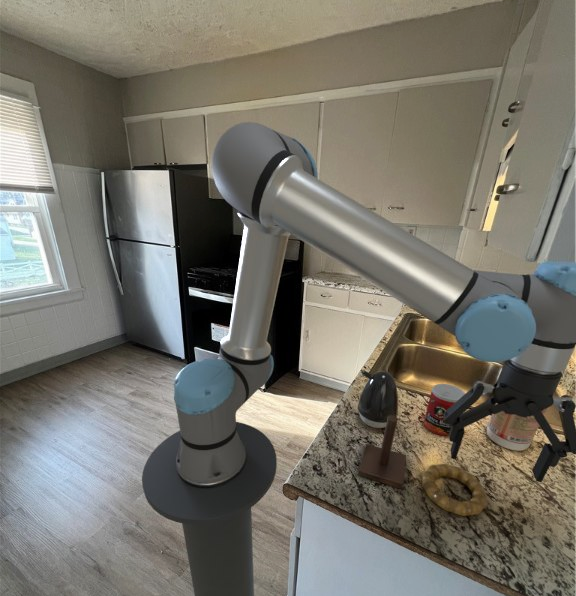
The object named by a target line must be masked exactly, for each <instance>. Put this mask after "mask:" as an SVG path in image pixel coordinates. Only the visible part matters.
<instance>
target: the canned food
mask: <svg viewBox="0 0 576 596" xmlns="http://www.w3.org/2000/svg"><path fill="white" fill-rule="evenodd" d="M464 394H466V392H465V391H464V390H463V389H461V388H460V387H458V386H456V385H452V384H449V383H448V384H447V383H437V384H434V385H433V387H432V389H431V391H430V396H429V399H428V402H427V407H426V411H425V415H424V419H423V424H424V427H425V428H426V429H427V430H428V431H430V432H431V433H434V434H435V435H439V436H449V433H450V429H451V425H449V424H445V423H444V415H443V414H444V412H445V411H447V410H448V409H449V408H450V407H451V406H452V405H453V404H454V403H456V402H457V401H458V400H459V399H460V398H461V397H462V396H463V395H464Z"/></svg>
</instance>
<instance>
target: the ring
mask: <svg viewBox="0 0 576 596" xmlns="http://www.w3.org/2000/svg"><path fill="white" fill-rule="evenodd" d="M438 477H448V478H452V479H455V480H457V481H459V482H460V483H462V484H463V485H465V486H466V487H467V488H468V489H469V491H470V493H471V496H472V497H471V498H470V500H464V501H463V500H462V501H460V500H458V499H455V498H451V497H449V496H447V495H446V494H445V493H443V492H442V491H441V490H440V489H439V487H437V485H436V483H435V482H436V481H435V480H436V479H437V478H438ZM421 486H422V489H423V490H424V492H425V493H426V495H427V496H428V498H429V500H431V501H432V502H433V503H435V505H437V506H438V507H440V508H441V509H443V510H444V511H446V512H449V513H452V514H455V515H458V516H462V517H468V516H477V515H479V514H481V513H482V512H483V510H484V509H485V508H486V507H487V505H488V498H487V493H486V489H485V488H484V486H483V485H482V484H481V482H479V481H478V479H477V478H476V477H475V476H474V475H472V474H471V473H469V472H468V471H466V470H464V469H463V468H461V467H458V466H454V465H451V464H447V463H439V464H438V463H437V464H431V465H430V466H428V467H427V468H425V470H423V472H422V473H421Z"/></svg>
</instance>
